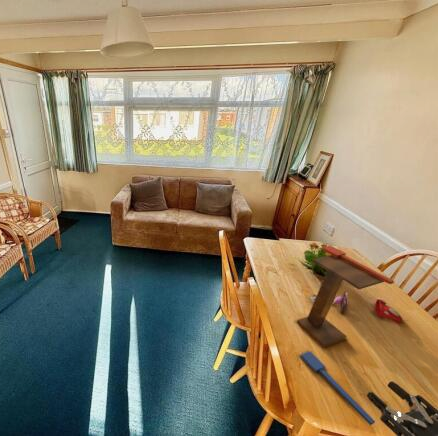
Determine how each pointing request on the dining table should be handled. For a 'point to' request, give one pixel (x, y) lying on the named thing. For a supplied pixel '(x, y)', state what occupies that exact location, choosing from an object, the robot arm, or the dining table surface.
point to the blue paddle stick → (334, 383)
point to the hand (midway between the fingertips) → (379, 388)
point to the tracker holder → (386, 311)
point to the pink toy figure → (341, 301)
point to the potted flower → (310, 256)
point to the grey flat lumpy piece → (313, 298)
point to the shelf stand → (333, 297)
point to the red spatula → (355, 263)
